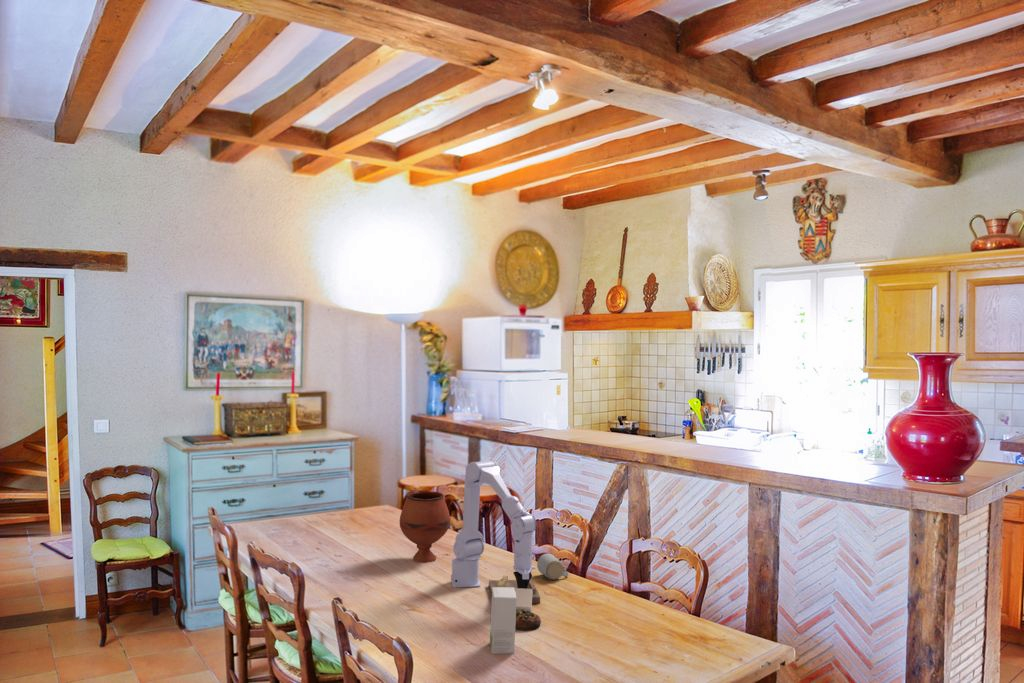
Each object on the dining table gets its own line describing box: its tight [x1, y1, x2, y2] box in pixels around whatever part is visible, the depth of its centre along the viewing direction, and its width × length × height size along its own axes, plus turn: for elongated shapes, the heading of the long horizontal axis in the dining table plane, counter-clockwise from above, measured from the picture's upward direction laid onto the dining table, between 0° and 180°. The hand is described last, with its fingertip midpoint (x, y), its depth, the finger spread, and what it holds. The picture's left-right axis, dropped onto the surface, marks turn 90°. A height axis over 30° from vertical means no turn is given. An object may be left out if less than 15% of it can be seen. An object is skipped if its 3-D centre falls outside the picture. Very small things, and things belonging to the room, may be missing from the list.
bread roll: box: [515, 610, 542, 631], centre depth 227 cm, size 11×11×5 cm
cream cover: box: [514, 588, 533, 612], centre depth 240 cm, size 7×6×2 cm
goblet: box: [399, 491, 451, 564], centre depth 292 cm, size 19×19×25 cm
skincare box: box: [489, 587, 517, 655], centre depth 209 cm, size 8×7×16 cm
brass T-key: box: [498, 575, 509, 587], centre depth 245 cm, size 12×2×5 cm, turn 170°
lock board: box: [488, 578, 541, 604], centre depth 254 cm, size 15×18×4 cm
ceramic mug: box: [536, 552, 570, 581], centre depth 274 cm, size 11×8×8 cm
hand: (522, 595), depth 244 cm, fingers closed
